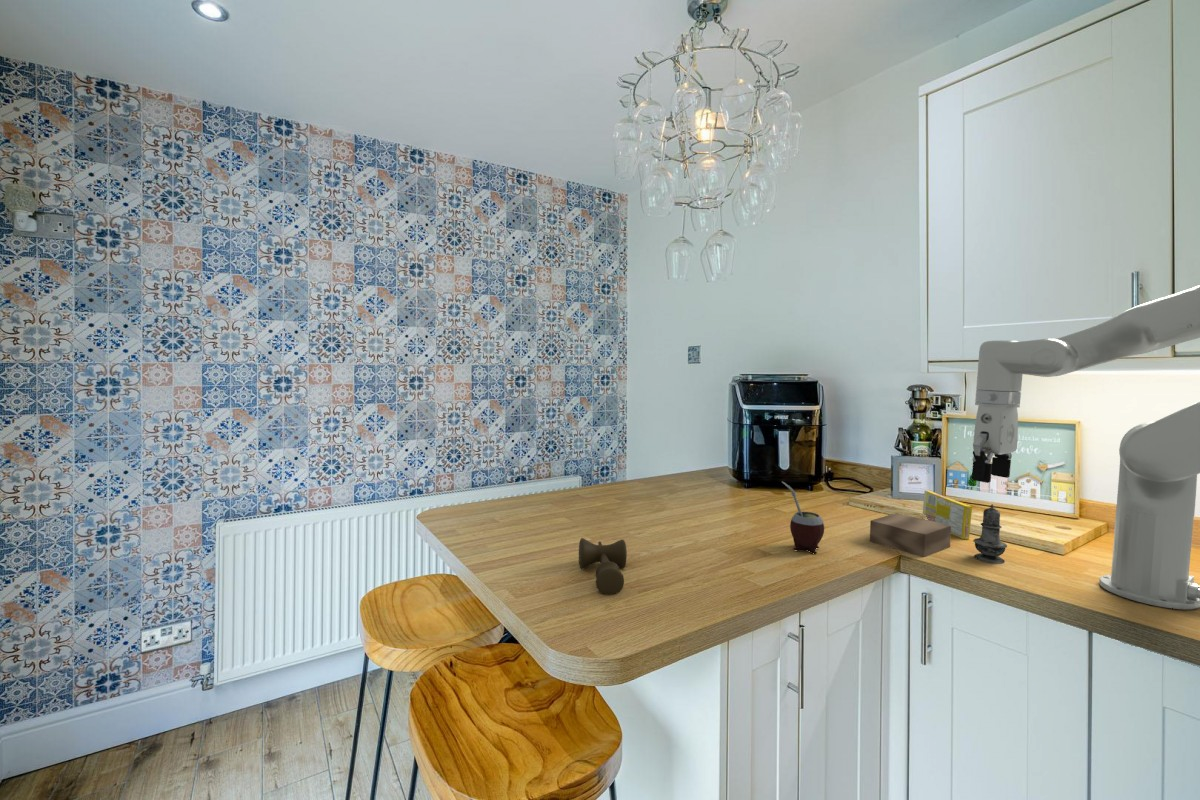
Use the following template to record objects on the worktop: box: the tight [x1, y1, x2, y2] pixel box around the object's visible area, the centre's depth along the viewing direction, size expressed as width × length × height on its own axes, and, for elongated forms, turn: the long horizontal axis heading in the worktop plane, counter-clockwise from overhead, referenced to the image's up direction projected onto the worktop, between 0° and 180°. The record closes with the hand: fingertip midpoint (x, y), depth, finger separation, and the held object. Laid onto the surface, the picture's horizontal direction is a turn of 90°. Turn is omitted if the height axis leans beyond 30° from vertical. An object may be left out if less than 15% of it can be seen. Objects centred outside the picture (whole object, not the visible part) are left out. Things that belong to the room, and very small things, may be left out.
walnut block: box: [869, 512, 952, 558], centre depth 119 cm, size 12×12×5 cm
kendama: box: [578, 537, 628, 596], centre depth 101 cm, size 6×10×20 cm
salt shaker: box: [972, 504, 1008, 565], centre depth 110 cm, size 6×6×12 cm
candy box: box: [922, 490, 973, 540], centre depth 131 cm, size 16×2×8 cm, turn 179°
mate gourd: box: [781, 481, 825, 555], centre depth 115 cm, size 8×8×15 cm
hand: (990, 478), depth 110 cm, fingers open, 9 cm apart
